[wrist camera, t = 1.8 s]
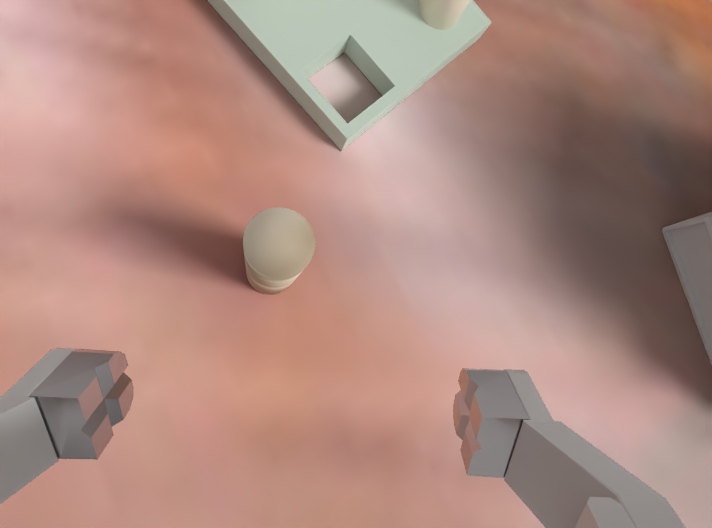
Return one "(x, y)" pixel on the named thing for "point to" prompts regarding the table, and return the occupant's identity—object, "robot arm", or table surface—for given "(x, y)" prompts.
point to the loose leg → (277, 249)
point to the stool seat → (354, 47)
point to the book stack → (694, 268)
